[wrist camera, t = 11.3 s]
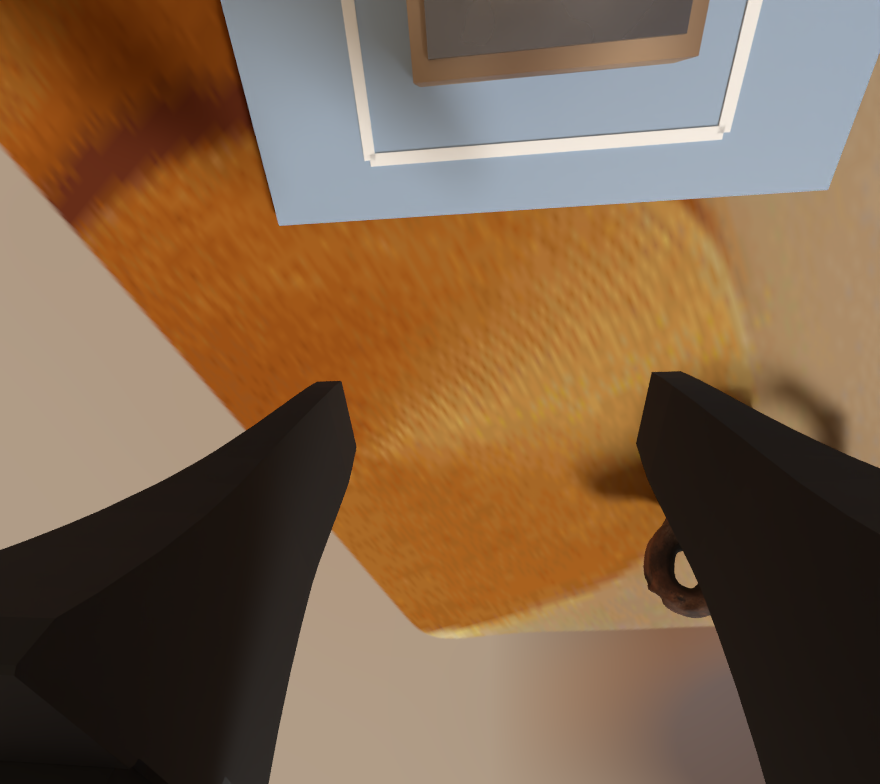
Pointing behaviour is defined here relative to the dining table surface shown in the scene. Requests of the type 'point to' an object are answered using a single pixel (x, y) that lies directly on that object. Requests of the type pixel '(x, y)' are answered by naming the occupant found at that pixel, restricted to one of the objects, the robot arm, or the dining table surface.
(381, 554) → the dining table surface
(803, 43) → the board
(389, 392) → the dining table surface
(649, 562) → the pottery mug
